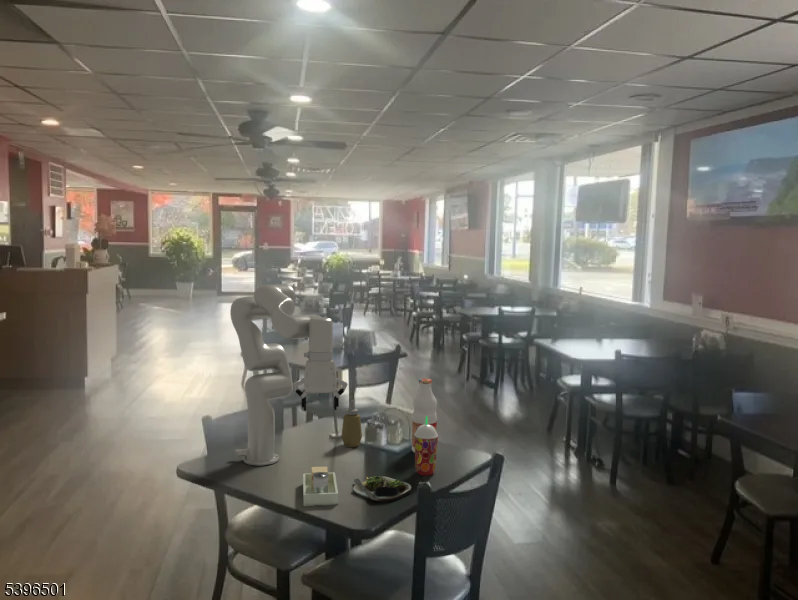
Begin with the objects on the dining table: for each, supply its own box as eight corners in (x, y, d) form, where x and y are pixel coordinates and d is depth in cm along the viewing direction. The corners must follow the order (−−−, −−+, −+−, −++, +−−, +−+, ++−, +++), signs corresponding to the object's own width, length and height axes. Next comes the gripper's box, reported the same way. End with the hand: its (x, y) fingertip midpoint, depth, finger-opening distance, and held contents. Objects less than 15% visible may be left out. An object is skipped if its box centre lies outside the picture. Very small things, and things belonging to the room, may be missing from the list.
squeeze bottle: (353, 440, 259) (353, 396, 257) (366, 445, 253) (366, 400, 251) (337, 444, 254) (337, 400, 252) (349, 450, 248) (350, 404, 246)
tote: (303, 506, 194) (303, 494, 194) (303, 484, 212) (303, 473, 212) (338, 504, 196) (338, 493, 196) (334, 482, 214) (334, 472, 213)
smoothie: (424, 467, 230) (426, 412, 228) (442, 473, 224) (443, 417, 223) (408, 472, 224) (409, 416, 223) (425, 479, 219) (427, 421, 217)
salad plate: (336, 491, 208) (336, 477, 207) (374, 476, 221) (375, 463, 220) (380, 508, 195) (381, 493, 194) (418, 491, 208) (418, 477, 208)
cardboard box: (311, 490, 205) (311, 472, 204) (311, 484, 210) (311, 466, 209) (327, 490, 206) (327, 471, 205) (326, 484, 211) (327, 466, 210)
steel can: (313, 500, 198) (313, 477, 197) (312, 494, 202) (313, 472, 202) (328, 499, 198) (328, 477, 198) (327, 493, 203) (328, 471, 202)
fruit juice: (407, 449, 250) (408, 378, 247) (428, 446, 254) (430, 376, 251) (419, 456, 241) (420, 383, 239) (440, 453, 246) (442, 381, 243)
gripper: (292, 358, 199) (292, 413, 200) (348, 358, 202) (348, 411, 203) (292, 354, 206) (292, 407, 208) (346, 354, 209) (346, 405, 211)
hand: (320, 409), depth 205 cm, fingers open, 9 cm apart
